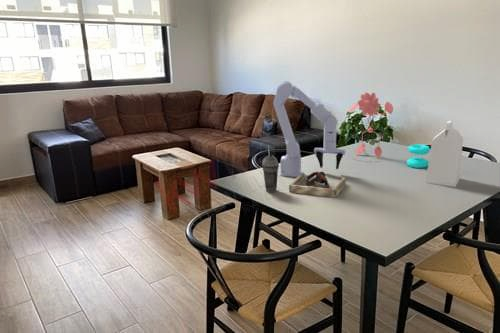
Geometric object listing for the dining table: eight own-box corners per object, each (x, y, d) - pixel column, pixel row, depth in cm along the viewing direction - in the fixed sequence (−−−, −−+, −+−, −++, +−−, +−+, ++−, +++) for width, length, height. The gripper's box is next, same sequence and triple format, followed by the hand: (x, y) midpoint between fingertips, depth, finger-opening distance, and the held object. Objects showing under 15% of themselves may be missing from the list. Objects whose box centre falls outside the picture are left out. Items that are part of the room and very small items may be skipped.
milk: (431, 174, 175) (437, 118, 167) (459, 178, 168) (466, 120, 161) (425, 182, 166) (431, 123, 158) (455, 186, 159) (462, 125, 152)
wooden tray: (289, 191, 162) (289, 185, 161) (301, 179, 177) (301, 173, 176) (336, 197, 154) (336, 190, 153) (345, 183, 169) (345, 177, 168)
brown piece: (328, 194, 159) (318, 178, 157) (309, 200, 165) (299, 185, 163) (335, 178, 168) (325, 163, 166) (317, 184, 174) (307, 170, 172)
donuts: (403, 146, 187) (415, 142, 193) (402, 165, 190) (414, 161, 195) (422, 149, 179) (434, 146, 185) (420, 170, 182) (432, 165, 188)
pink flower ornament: (352, 150, 221) (354, 89, 210) (395, 158, 202) (399, 91, 192) (337, 157, 211) (338, 93, 200) (380, 165, 193) (384, 96, 182)
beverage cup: (268, 194, 160) (266, 148, 154) (259, 189, 166) (257, 145, 160) (282, 191, 163) (281, 146, 157) (274, 186, 169) (272, 142, 164)
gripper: (347, 139, 179) (346, 166, 183) (316, 137, 185) (316, 164, 189) (344, 142, 173) (343, 171, 176) (312, 140, 179) (312, 168, 183)
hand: (329, 167), depth 182 cm, fingers open, 7 cm apart
